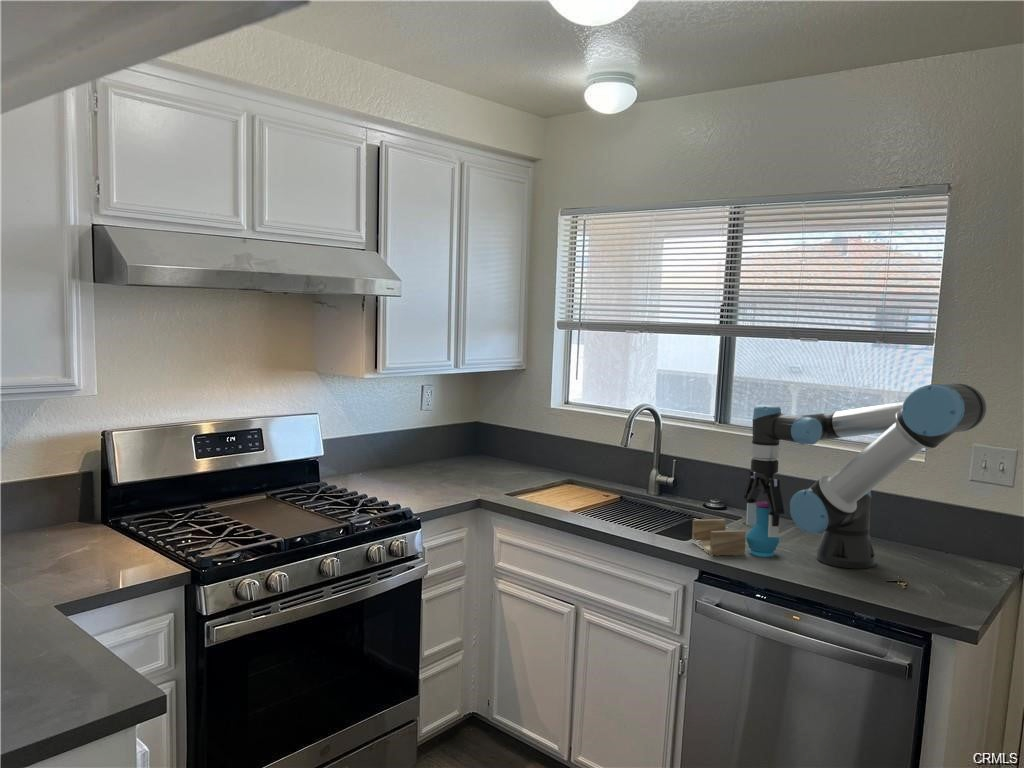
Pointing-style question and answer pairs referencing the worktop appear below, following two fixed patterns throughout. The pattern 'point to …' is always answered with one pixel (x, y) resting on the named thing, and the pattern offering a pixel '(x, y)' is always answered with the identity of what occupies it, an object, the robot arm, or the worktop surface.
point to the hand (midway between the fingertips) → (761, 530)
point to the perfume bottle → (762, 533)
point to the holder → (718, 537)
